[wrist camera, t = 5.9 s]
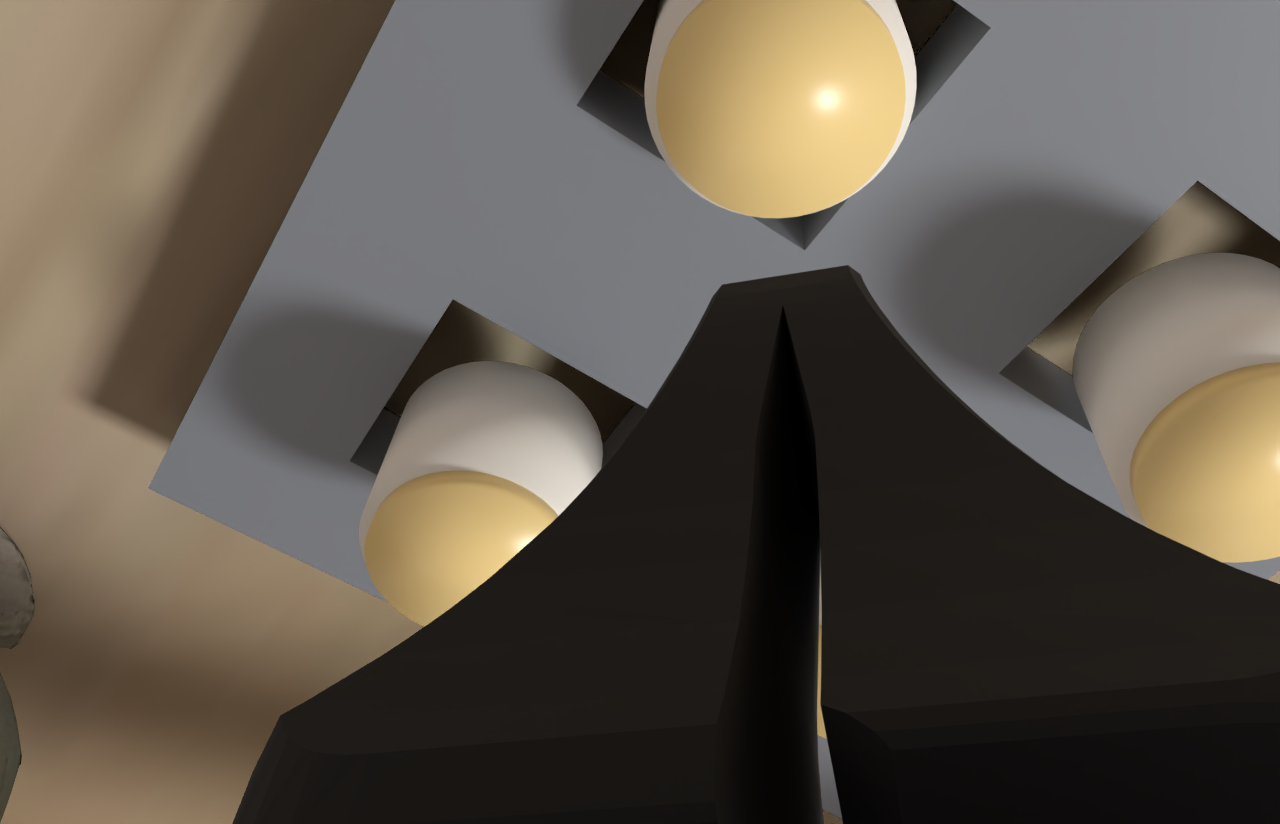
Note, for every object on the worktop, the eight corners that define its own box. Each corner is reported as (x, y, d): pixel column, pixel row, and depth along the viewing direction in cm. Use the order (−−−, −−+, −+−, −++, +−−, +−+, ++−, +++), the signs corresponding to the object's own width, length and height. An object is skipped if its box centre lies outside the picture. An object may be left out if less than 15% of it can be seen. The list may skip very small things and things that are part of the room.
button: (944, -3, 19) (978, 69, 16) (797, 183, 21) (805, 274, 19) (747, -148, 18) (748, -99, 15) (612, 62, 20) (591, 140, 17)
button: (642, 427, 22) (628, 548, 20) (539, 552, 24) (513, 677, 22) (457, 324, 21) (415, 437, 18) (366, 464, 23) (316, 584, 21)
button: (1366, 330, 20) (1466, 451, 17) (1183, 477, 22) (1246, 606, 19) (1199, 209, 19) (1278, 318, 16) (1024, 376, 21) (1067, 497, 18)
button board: (1613, 225, 21) (1686, 280, 19) (887, 778, 31) (895, 844, 30) (686, -550, 15) (681, -564, 14) (185, 430, 26) (148, 488, 24)
